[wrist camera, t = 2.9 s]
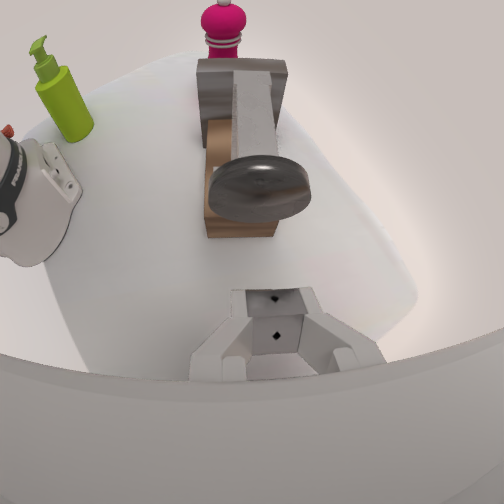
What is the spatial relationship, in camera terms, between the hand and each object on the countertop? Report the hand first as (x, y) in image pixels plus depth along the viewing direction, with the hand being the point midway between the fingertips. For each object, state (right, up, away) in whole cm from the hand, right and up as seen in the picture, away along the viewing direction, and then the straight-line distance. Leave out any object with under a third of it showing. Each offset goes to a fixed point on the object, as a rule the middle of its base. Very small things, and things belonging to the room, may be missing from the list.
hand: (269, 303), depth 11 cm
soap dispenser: (-31, +24, +29) cm, 49 cm away
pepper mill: (-6, +27, +32) cm, 43 cm away
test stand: (-2, +12, +27) cm, 30 cm away
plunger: (-1, +4, +21) cm, 22 cm away
